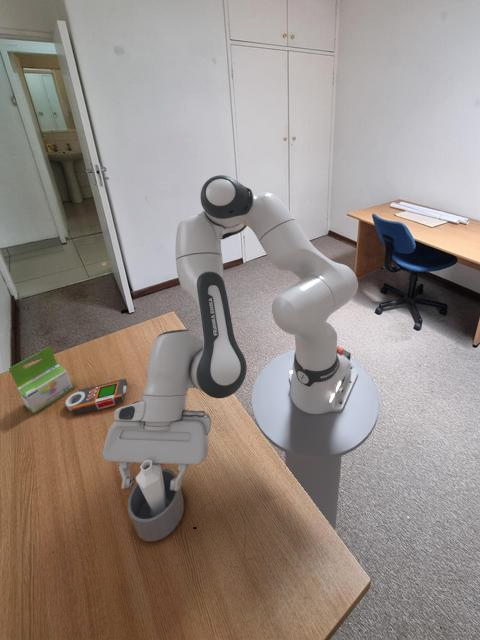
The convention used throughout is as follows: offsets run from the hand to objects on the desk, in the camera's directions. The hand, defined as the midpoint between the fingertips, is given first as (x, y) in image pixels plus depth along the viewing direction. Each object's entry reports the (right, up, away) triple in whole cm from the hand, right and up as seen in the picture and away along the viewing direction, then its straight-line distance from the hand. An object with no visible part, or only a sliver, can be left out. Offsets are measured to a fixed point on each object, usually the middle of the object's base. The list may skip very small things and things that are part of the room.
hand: (150, 489), depth 63 cm
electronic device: (-28, +3, +29) cm, 41 cm away
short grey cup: (0, -8, +5) cm, 10 cm away
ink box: (-43, +3, +30) cm, 53 cm away
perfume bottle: (0, -8, +5) cm, 9 cm away
